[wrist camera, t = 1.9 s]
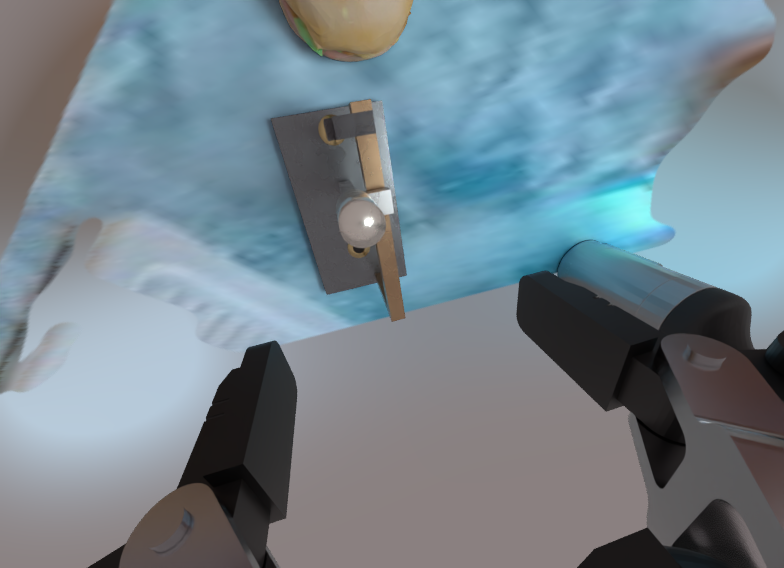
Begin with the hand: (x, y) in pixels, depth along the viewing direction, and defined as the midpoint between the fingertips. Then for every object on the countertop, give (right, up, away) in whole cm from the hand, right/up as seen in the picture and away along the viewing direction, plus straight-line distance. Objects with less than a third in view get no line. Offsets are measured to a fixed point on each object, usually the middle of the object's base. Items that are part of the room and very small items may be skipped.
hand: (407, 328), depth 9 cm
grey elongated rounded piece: (-5, +13, +24) cm, 28 cm away
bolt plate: (-6, +11, +27) cm, 30 cm away
